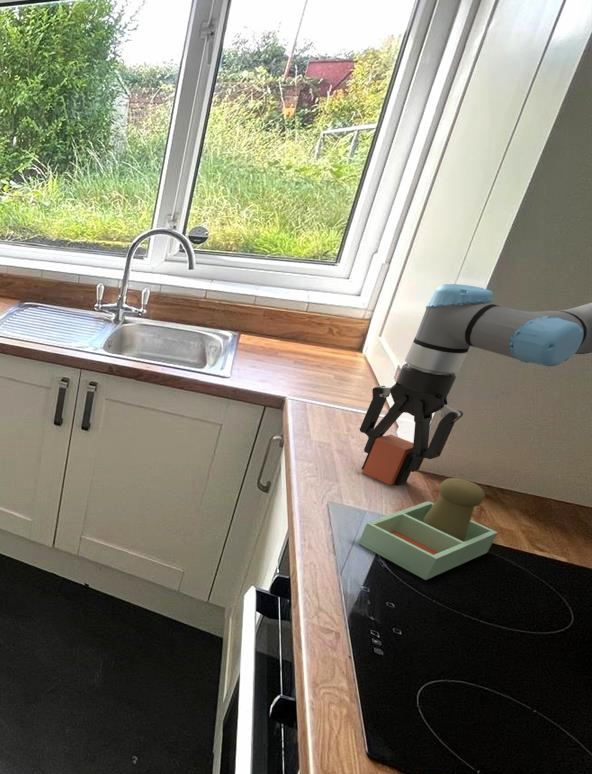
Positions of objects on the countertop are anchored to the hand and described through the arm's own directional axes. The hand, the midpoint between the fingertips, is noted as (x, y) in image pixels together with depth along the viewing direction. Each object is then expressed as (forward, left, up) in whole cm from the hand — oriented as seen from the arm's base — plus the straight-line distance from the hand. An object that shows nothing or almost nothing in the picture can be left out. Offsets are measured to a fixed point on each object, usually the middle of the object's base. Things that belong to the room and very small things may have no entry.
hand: (383, 475), depth 117 cm
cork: (-16, +16, 0) cm, 22 cm away
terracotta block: (0, 0, 0) cm, 0 cm away
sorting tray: (-16, +20, 0) cm, 26 cm away
